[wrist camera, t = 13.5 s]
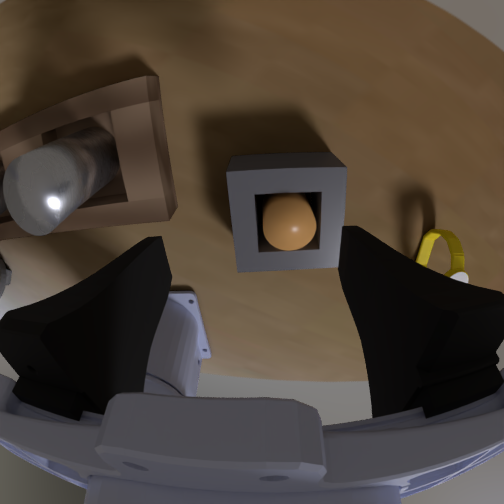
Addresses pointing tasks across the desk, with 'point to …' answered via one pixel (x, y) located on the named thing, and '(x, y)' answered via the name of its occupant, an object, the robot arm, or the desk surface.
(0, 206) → the cylinder
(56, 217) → the steel billet
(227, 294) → the desk surface
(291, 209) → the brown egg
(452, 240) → the watch
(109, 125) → the frame
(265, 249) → the button housing
